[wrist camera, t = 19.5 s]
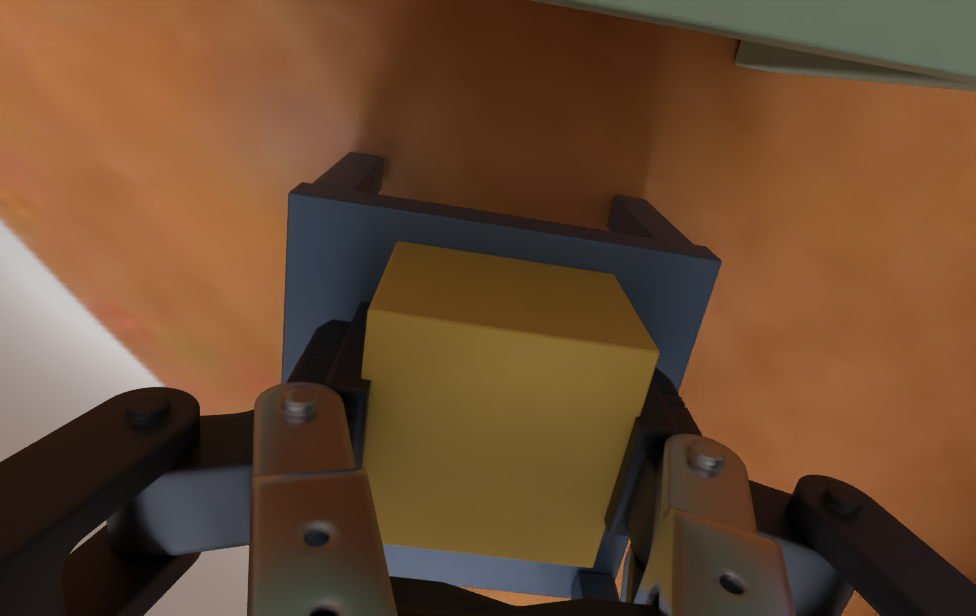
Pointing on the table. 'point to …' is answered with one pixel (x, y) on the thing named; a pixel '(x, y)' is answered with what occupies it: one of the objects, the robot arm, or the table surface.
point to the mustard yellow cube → (499, 403)
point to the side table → (828, 35)
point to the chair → (385, 220)
